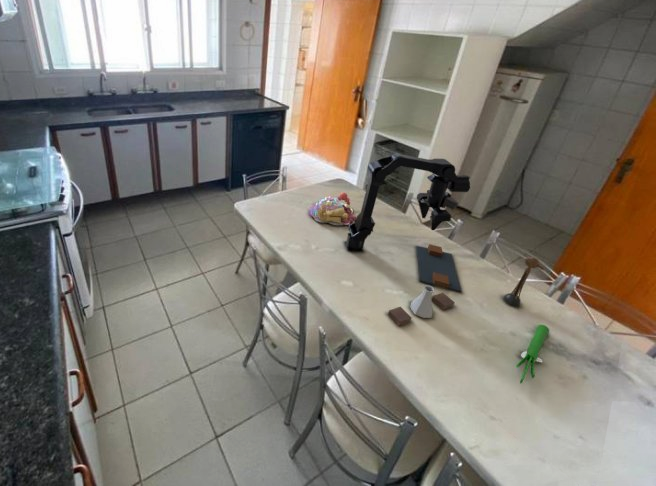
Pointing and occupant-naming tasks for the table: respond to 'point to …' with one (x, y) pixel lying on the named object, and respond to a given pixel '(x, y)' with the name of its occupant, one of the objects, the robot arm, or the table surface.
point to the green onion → (534, 350)
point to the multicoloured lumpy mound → (333, 210)
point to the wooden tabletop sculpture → (522, 282)
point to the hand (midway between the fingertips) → (428, 223)
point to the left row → (402, 317)
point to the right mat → (437, 268)
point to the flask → (423, 303)
